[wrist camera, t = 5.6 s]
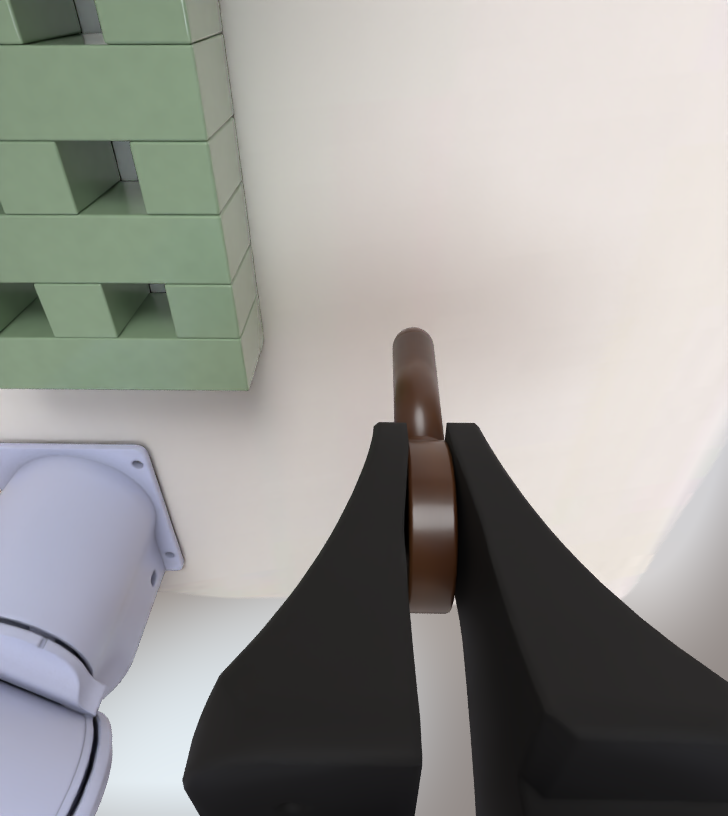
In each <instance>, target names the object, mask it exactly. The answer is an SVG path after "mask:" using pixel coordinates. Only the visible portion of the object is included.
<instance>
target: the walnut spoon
mask: <svg viewBox="0 0 728 816" xmlns="http://www.w3.org/2000/svg"><path fill="white" fill-rule="evenodd" d="M393 387H394V422H401V423H407V431H408V440H409V453H408V468H407V485H406V503H405V520H404V539H405V554H406V569H407V582H408V596H409V608H410V613H434V614H437V613H438V614H446V613H448V612H450V610H451V608H452V605H453V601H454V596H455V589H456V580H457V564H458V514H457V495H456V483H455V474H454V466H453V460H452V456H451V452H450V449H449V446H448V444H447V442H446V441H444V434H443V425H442V416H441V407H440V398H439V389H438V380H437V371H436V362H435V353H434V344H433V341H432V339H431V337H430V335H429V334H428V333H427V332H425V331H424V330H422V329H420V328H415V327H412V328H407V329H404V330H403V331H401V332H400V333H399V334H398V335H397V336H396V338H395V340H394V342H393Z"/></svg>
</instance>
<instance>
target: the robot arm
mask: <svg viewBox="0 0 728 816" xmlns="http://www.w3.org/2000/svg"><path fill="white" fill-rule="evenodd" d="M445 441H446V442H447V444H448V446H449V449H450V452H451V456H452V460H453V466H454V474H455V483H456V495H457V514H458V564H457V580H456V589H455V599H456V604H457V609H458V614H459V620H460V626H461V633H462V641H463V651H464V662H465V672H466V684H467V695H468V708H469V721H470V732H471V746H472V761H473V775H474V789H475V806H476V816H728V682H727V681H726V680H724V679H723V678H721V677H720V676H719V675H717V674H716V673H714V672H713V671H711V670H710V669H709V668H707V667H706V666H704V665H703V664H702V663H700V662H699V661H697V660H696V659H694V658H693V657H692V656H690V655H689V654H687V653H686V652H685V651H683V650H682V649H680V648H679V647H677V646H676V645H675V644H673V643H672V642H671V641H670V640H668V639H667V638H666V637H664V636H663V635H662V634H661V633H660V632H658V631H657V630H656V629H654V628H653V627H652V626H650V625H649V624H648V623H647V622H646V621H644V620H643V619H642V618H641V617H639V616H638V615H637V614H636V613H635V612H634V611H633V610H631V609H630V608H629V607H628V606H627V605H626V604H625V603H623V602H622V601H621V600H620V599H619V598H618V597H617V596H616V595H614V594H613V593H612V592H611V591H610V590H609V589H608V588H606V587H605V586H604V585H603V584H602V583H601V582H600V581H599V580H598V579H597V578H596V577H595V576H594V575H593V574H592V573H591V572H590V571H589V570H588V569H587V568H586V567H585V566H584V565H583V564H582V563H581V562H580V561H579V560H578V559H577V558H576V557H575V556H574V555H573V554H572V553H571V552H570V551H569V550H568V549H567V548H566V547H565V546H564V544H563V543H562V542H561V541H560V540H559V539H558V538H557V537H556V536H555V534H554V533H553V532H552V531H551V530H550V529H549V527H548V526H547V525H546V524H545V523H544V521H543V520H542V519H541V518H540V516H539V515H538V514H537V513H536V512H535V510H534V509H533V508H532V506H531V505H530V504H529V503H528V501H527V500H526V499H525V497H524V496H523V495H522V493H521V492H520V490H519V489H518V488H517V486H516V485H515V484H514V482H513V481H512V479H511V478H510V477H509V475H508V474H507V472H506V471H505V469H504V468H503V466H502V465H501V463H500V462H499V460H498V459H497V457H496V455H495V454H494V452H493V451H492V449H491V447H490V446H489V444H488V442H487V441H486V439H485V437H484V436H483V434H482V432H481V430H480V428H479V427H478V426H477V425H476V424H475V423H447V426H446V435H445ZM408 453H409V440H408V431H407V423H401V422H379V423H377V424H376V425H375V426H374V429H373V437H372V441H371V445H370V449H369V452H368V455H367V458H366V461H365V464H364V467H363V469H362V472H361V474H360V476H359V479H358V481H357V484H356V486H355V489H354V491H353V493H352V495H351V497H350V499H349V501H348V503H347V505H346V507H345V509H344V511H343V513H342V515H341V517H340V519H339V521H338V523H337V525H336V526H335V528H334V530H333V532H332V534H331V535H330V537H329V539H328V540H327V542H326V544H325V545H324V547H323V548H322V550H321V552H320V553H319V555H318V556H317V558H316V559H315V561H314V562H313V564H312V565H311V567H310V568H309V570H308V571H307V573H306V574H305V575H304V577H303V578H302V580H301V581H300V583H299V584H298V585H297V587H296V588H295V589H294V591H293V592H292V593H291V595H290V596H289V597H288V598H287V600H286V601H285V602H284V604H283V605H282V606H281V607H280V608H279V610H278V611H277V612H276V613H275V614H274V616H273V617H272V618H271V620H270V621H269V622H268V623H267V624H266V626H265V627H264V628H263V629H262V630H261V631H260V633H259V634H258V635H257V636H256V637H255V638H254V639H253V640H252V641H251V642H250V644H249V645H248V646H247V647H246V648H245V649H244V650H243V651H242V652H241V653H240V654H239V655H238V656H237V657H236V658H235V660H234V661H233V662H232V663H231V664H230V665H229V666H228V667H227V668H226V669H225V670H224V671H223V672H222V673H221V675H220V676H219V678H218V680H217V682H216V684H215V686H214V688H213V690H212V692H211V694H210V696H209V698H208V700H207V703H206V705H205V707H204V709H203V712H202V714H201V717H200V719H199V722H198V725H197V728H196V730H195V733H194V736H193V739H192V743H191V747H190V751H189V756H188V760H187V764H186V768H185V772H184V776H183V785H184V789H185V791H186V793H187V794H188V796H189V798H190V800H191V801H192V803H193V805H194V806H195V808H196V810H197V811H198V813H199V815H200V816H415V809H416V803H417V796H418V789H419V782H420V776H421V770H422V745H421V728H420V727H421V726H420V713H419V703H418V694H417V684H416V675H415V664H414V654H413V643H412V632H411V620H410V608H409V596H408V582H407V569H406V554H405V539H404V520H405V503H406V485H407V468H408ZM137 461H140V462H141V463H139V462H137ZM0 489H1V491H2V492H1V493H0V816H95V814H96V812H97V809H98V807H99V804H100V802H101V799H102V797H103V794H104V791H105V788H106V785H107V781H108V778H109V773H110V768H111V763H112V731H111V724H110V722H109V719H108V718H107V717H106V716H105V714H103V713H101V712H99V711H98V708H99V706H100V704H101V701H102V699H104V698H105V697H106V696H107V695H108V694H109V693H110V692H111V691H113V690H114V688H115V687H116V686H117V685H118V684H119V683H120V682H121V680H122V679H123V678H124V676H125V675H126V673H127V671H128V670H129V668H130V666H131V664H132V662H133V659H134V657H135V654H136V651H137V648H138V646H139V643H140V640H141V637H142V634H143V631H144V629H145V626H146V623H147V620H148V617H149V614H150V612H151V609H152V606H153V603H154V600H155V598H156V595H157V592H158V589H159V587H160V584H161V581H162V578H163V575H164V573H165V570H171V571H176V570H180V569H182V567H183V564H184V559H183V556H182V553H181V550H180V547H179V544H178V541H177V538H176V535H175V532H174V529H173V526H172V523H171V520H170V517H169V514H168V511H167V508H166V505H165V502H164V499H163V496H162V493H161V490H160V487H159V484H158V481H157V478H156V475H155V472H154V469H153V466H152V463H151V460H150V457H149V454H148V452H147V450H146V449H145V448H144V447H142V446H140V445H135V444H46V443H0Z"/></svg>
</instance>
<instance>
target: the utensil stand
mask: <svg viewBox="0 0 728 816" xmlns="http://www.w3.org/2000/svg"><path fill="white" fill-rule="evenodd" d="M94 2H95V6H96V10H97V14H98V18H99V22H100V26H101V30H102V34H79V33H81V29H80V25H79V21H78V17H77V14H76V10H75V6H74V2H73V0H0V389H98V390H210V391H248V390H249V388H250V385H251V382H252V378H253V375H254V372H255V369H256V365H257V362H258V359H259V356H260V353H261V349H262V346H263V343H264V336H263V329H262V321H261V314H260V306H259V299H258V294H257V285H256V278H255V271H254V263H253V256H252V248H251V245H250V242H251V240H250V233H249V225H248V218H247V211H246V203H245V196H244V188H243V184H242V182H241V181H242V173H241V166H240V158H239V151H238V143H237V136H236V128H235V121H234V118H233V117H232V116H233V114H234V112H233V105H232V97H231V90H230V82H229V75H228V67H227V60H226V52H225V45H224V37H223V35H222V34H221V32H222V23H221V16H220V8H219V1H218V0H94ZM110 141H131V142H130V148H131V152H132V156H133V160H134V164H135V168H136V172H137V176H138V181H120V176H119V172H118V168H117V164H116V160H115V157H114V153H113V149H112V145H111V142H110ZM148 284H165V290H166V293H150V289H149V285H148Z"/></svg>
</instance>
